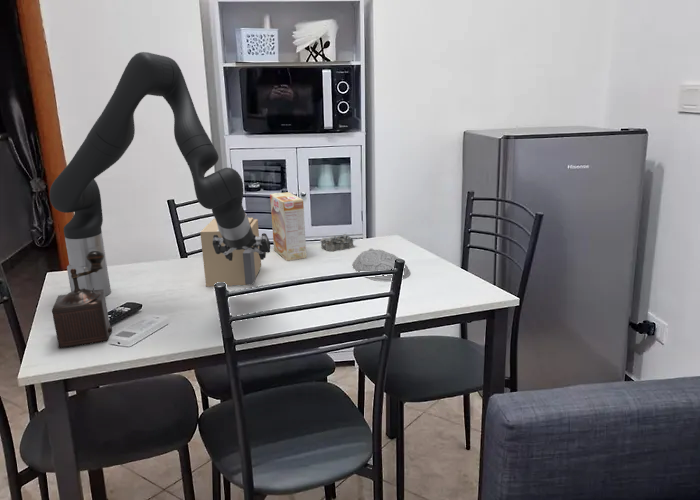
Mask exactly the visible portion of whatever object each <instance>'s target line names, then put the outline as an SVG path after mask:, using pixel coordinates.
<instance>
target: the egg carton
mask: <svg viewBox="0 0 700 500" xmlns="http://www.w3.org/2000/svg"><path fill="white" fill-rule="evenodd" d="M355 241H356V240H355V239H353V237H351V236H350V235H348V234H347V233H344V234H342V235H334V236H332V237H331V236H330V237H322V238H321V239H320V240H319V242H320V243H321V246H320V247H321V249H322V250H325V251H326V252H335V251H337V249H339V250H340V251H342V250H344V249H352V248H353V247H354V242H355ZM343 248H344V249H343Z"/></svg>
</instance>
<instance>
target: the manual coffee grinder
mask: <svg viewBox="0 0 700 500" xmlns="http://www.w3.org/2000/svg"><path fill="white" fill-rule="evenodd" d="M86 259H87V260H88V261H89V263H90V264H91V268H90V271H87V272H83V273H78V274H76V269H71V270H70V273H71V278H73V282H74V288H75V289H74V291H72V292H71V291H70V292H68V293H65V294H59V295H57V296H56V300H55V302H54V305H53V307H52V309H51V313H52V318H53V324H54V330H55V332H56V333H55V334H56V338H57V344H58V345H57V346H58V349H66V348H67V349H68V348H74V347H80V346H87V345H94V344H100V343H105V342H108V341H109V338H110V335H111V332H112V331H113V327H112V325H111V322H110V320H109V312H108V306H107V301H106V296H105V294H104V289H101V290H94V288H93V290H88V289H85V288H83V289H80V288H79V285H78V281H77V278H78V277H81V276H85V275H88V274H90V273H93V272H96V273H97V271H99V270H100V269H103V267H102V266H101V262H102V260H103V259H104V255H103V253H102V252H100V251H92V252H89V253H88V254H87V256H86Z"/></svg>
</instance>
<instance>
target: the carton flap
mask: <svg viewBox="0 0 700 500" xmlns="http://www.w3.org/2000/svg"><path fill="white" fill-rule="evenodd" d="M250 226H251V228H252V231H253V234H254V235H255V236H256V237H259V236H260V234H259V233H260V232H259V220H258V218H253V222H252V223H251V225H250ZM252 247H253V246H252ZM258 248H259V246H258ZM243 262H244V273H245V285H248V286H253V285H254V282H255V281H256V279H257V276H258V274H259V271H260V270H261V268H262V260H261V259H260V256H259V253H257V252H252V251H250V250H245V251H244V252H243Z"/></svg>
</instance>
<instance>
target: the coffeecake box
mask: <svg viewBox="0 0 700 500" xmlns="http://www.w3.org/2000/svg"><path fill="white" fill-rule="evenodd" d="M269 199H270V200H269V201H270V211H271V212H270V213H271V224H272V225H271V227H272V241H273V251H275V252H276V253H277V254H278V255H279V256H280V257H281V258H283V259H284V260H285V261H286V262H290V261H297V260H302V259H303V260H304V259H307V244H306V243H307V242H306V228H305V227H306V225H305V211H304V210H305V207H304V199H303V198H300V197H299V196H297V195H295V194H293V193H292V192H289V191H287V192H276V193H270V194H269Z"/></svg>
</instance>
